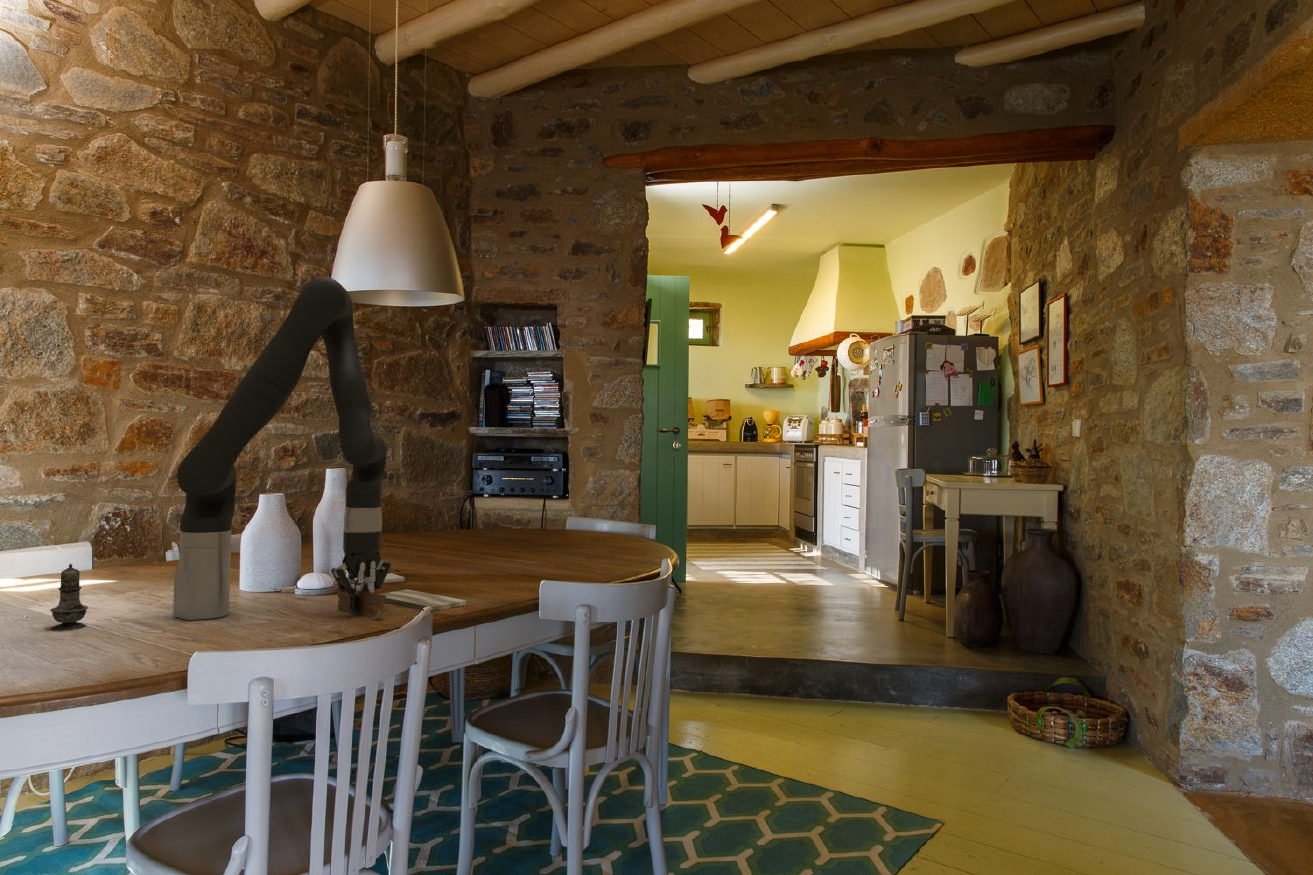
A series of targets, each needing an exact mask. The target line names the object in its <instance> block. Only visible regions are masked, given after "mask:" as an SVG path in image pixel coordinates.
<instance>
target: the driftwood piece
mask: <svg viewBox="0 0 1313 875" xmlns="http://www.w3.org/2000/svg"><path fill="white" fill-rule="evenodd" d="M336 588H337V599H338V601H337V605H338V607H337V610H338V611H342V612H348V613H351V614H353V613H352V612H351V610H350V608H349V607H350V595H349V594H348V593H343V592H341V590H340V588H339V587H336ZM379 594H380V593H375V592H373V593H371V592H367V591H362V589H361V591H360V595H361V612H360V613H357V615H361V616H363V617H367V618H370V619H371V620H374V621H379V617H380V616H381V615H382V614H383V612H384V609H385V606H386V604H387V603H386V595H379Z"/></svg>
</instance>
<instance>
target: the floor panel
mask: <svg viewBox="0 0 1313 875" xmlns="http://www.w3.org/2000/svg"><path fill="white" fill-rule="evenodd" d="M378 594H379V595H386V604H392V605H394V604H396V605H395V606H399V605H400V607H405V608H410V609H415V610H420V611H423V610H422V609H423V608H424V607H426V606H431V607H432V608H433V610H434V612H439V611H443V610H449V609H454V608H459V607H463V605H464V606H467V603H468V601H467V600H464V599H460V598H455V597H449V596H444V595H439V594H433V593H428V592H422V591H418V590H412V589H401V590H395V591H390V592H384V593H378ZM458 606H459V607H458ZM453 607H454V608H453ZM435 610H436V611H435ZM438 610H439V611H438Z"/></svg>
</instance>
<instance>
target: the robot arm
mask: <svg viewBox="0 0 1313 875" xmlns="http://www.w3.org/2000/svg"><path fill="white" fill-rule="evenodd" d="M353 308H354V307H353V300H352V297H351V294H350V293H349V291H347V289H346V288H345V287H344V286H343V285H342V284H341V283H340V282H338V281H337V280H336V279H334V278H331V277H328V276H320V277H316V278H314V279H311V280H309V281H308V282H307V283H306V284H305V285H304V286H303V287H302V289H301V290H300V293H299V294H298V296H297V297H296V299H295V301H294V303H293V305H292V306H291V308H290V310H289V312H288V314H287V316H286V317H285V320H284V321H283V322H282V325H281V326H280V328H279V329H278V330H277V331H276V333H275V334H274V335H273V337H272V338H271V339H270V341H268V343H267V344H266V346H265V347H264V349H263V350H262V351H261V353H259V355H258V357H257V358H256V360H255V361H254V362H253V363H252V364H251V365H250V368H248V370H247V371H246V373H245V374H244V375H243V376H242V378H241V380H240V381H239V383H238V384H237V386H236V387H235V389H234V391H233V393H232V394H231V395H230V397H229V398H228V399H227V401H226V403H225V404H224V406H223V408H222V410H221V411H220V413H219V414H218V416H217V418H216V419H215V421H214V423H213V424H212V426H210V428H209V429H208V430H207V431H206V433H205V434H204V435H203V436H202V438H201V439H200V440H198V442H197V443H196V445H195V446H194V447H193V448H192V449H191V450H190V451H189V452H188V453H187V454H186V455H185V456H184V458H183V459H182V460H181V462H180V463H179V465H178V467H177V471H176V480H177V481H176V482H177V484H178V487H179V489H180V490H181V491H182V492H183V493H185V505H184V510H183V513H182V514H181V517H180V518H179V519H180V520H179V548H178V549H179V553H178V554H179V555H178V557H179V558H178V561H179V562H178V568H177V567H176V568H175V569H174V572H173V574H174V575H173V609H172V611H173V612H172V614H173V615H172V617H175V618H178V619H181V620H186V621H195V620H210V619H217V618H222V617H226V616H228V615H229V614H230V606H231V602H230V600H231V599H230V598H231V596H230V592H231V560H232V559H231V558H232V557H231V555H232V554H231V553H232V522H233V517H234V515H235V506H236V493H237V492H236V489H237V470H236V467H235V463H236V461H237V460H238V458H239V456H240V455H241V453H242V452H243V450H244V449H245V448H246V446H247V445H248V444H249V443H250V441H252V439H254V437H255V436H256V435H257V434H259V432H260V431H261V430H263V429H264V428H265V426H267V425H268V424H269V422H270V421H271V420H273V418H274V417H276V415H277V414H278V412H279V411H281V409H282V408H283V406H284V405H285V403H286V402H288V401H287V400H289V397H290V396H291V395H292V394H293V392H294V391H295V389H296V387H297V385H298V384H299V381H300V380H301V379H300V378H301V377H302V375H303V372H304V370H305V366H306V364H307V360H308V357H309V356H310V353H311V351H312V350H313V347H314V346H315V344H316V343H317V341H318V340H319V339H320V338H322V340H323V343H324V348H325V350H326V351H325V352H326V357H327V362H328V364H327V365H328V374H329V375H328V376H329V384H330V390H331V394H332V398H333V402H334V407H335V410H336V414H337V416H338V434H339V444H340V450H341V453H342V454H343V457H344V459H345V461H346V462H347V463H348V464H350V465H351V466H352V467H353V468H352V474H351V477H350V479H349V480H348V481H347V482H346V488H345V508H344V509H345V510H344V514H343V515H344V516H343V540H342V541H343V543H342V547H343V548H342V549H343V553H344V557H343V559H342V560H341V561H342V563H341V564H340V565H338V566H337V567H333V568H331V572H330V573H331V574H332V576H333V579H335V580H336V582H337V584H338V586H339V588H340V590H341V592H343V593H348V594H349V595H350V607H349V608H350V610H351V612H352V613H351V612H350V613H351V614H357V613H360V612H361V595H360V591H361V590H362V591H367V592H371V593H375V591H376V590H381V588H382V586H383V585H384V583H383V582H384V580H385V578H386V575H387V574H389V573H388V572H389V571H390V570H391V567H392V563H391V562H389V561H388V562H387V561H385V560H382V556H381V555H380V554H381V553H380V551H381V550H382V537H383V536H382V533H383V529H382V528H383V514H382V483H383V480H384V473H385V470H386V464H387V456H388V454H387V444H386V443H385V440H384V439H383V438H382V436H380V435H379V434H376V433H374V432H373V430H372V425H371V418H372V416H373V415H374V414H373V412H374V411H373V405H372V403H371V402H372V401H371V397H370V393H369V390H368V385H367V383H366V382H367V381H366V379H365V375H364V371H363V368H362V367H363V366H362V364H361V360H360V357H359V353H358V352H359V351H358V347H357V341H356V336H355V335H356V334H355V326H354V324H355V323H354V312H353V311H354V310H353ZM347 577H348V578H347ZM355 578H357V579H355ZM361 584H362V585H361ZM357 615H358V614H357Z"/></svg>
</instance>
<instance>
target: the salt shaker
mask: <svg viewBox="0 0 1313 875" xmlns="http://www.w3.org/2000/svg"><path fill="white" fill-rule="evenodd" d="M73 566H74V565H73V564H72V563H69V565H68V567H67V568H65V569H63V570H62V571H61V572H60V587H58V589H57V590H58V591H59V602H58V605H57V606H55V607H53V608H51V609H50V610H49V611H50V612H51V613H52V614H51V615H52V617H53V619H54V621H55V622H57V623H58V624H56V625H54V626H53V627H51V630H52V629H53V630H52V631H57V632H58V631H61V632H64V631H65V630H68V631H74V630H73V629H76V630H79V629H78V628H81V629H83V628H82V627H84V628H86V627H87V624H84V623H83V622H79V621H81V620H82V619H83V618H84V617H85V615H86V614H87V610H88V609H89V606H87V605H84V604H82V603H81V599H80V596H81V595H80V592H81V589H82V588H83V587H82V586H80V575H81V573H80V570H78V569H77V568H74V567H73ZM85 626H86V627H85Z"/></svg>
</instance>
